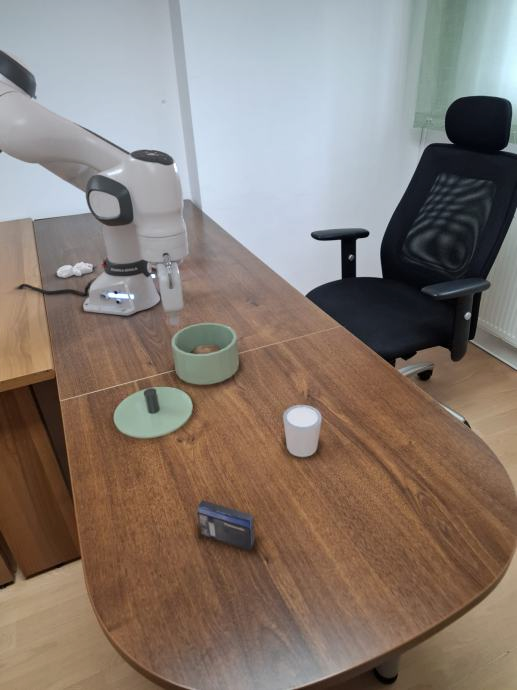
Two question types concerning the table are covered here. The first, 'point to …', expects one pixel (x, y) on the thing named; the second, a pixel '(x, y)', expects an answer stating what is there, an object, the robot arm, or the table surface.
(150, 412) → the lid
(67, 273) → the astronaut figurine
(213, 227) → the table surface
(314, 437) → the white cup
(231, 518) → the mini dv tape
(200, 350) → the mushroom
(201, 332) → the pot
